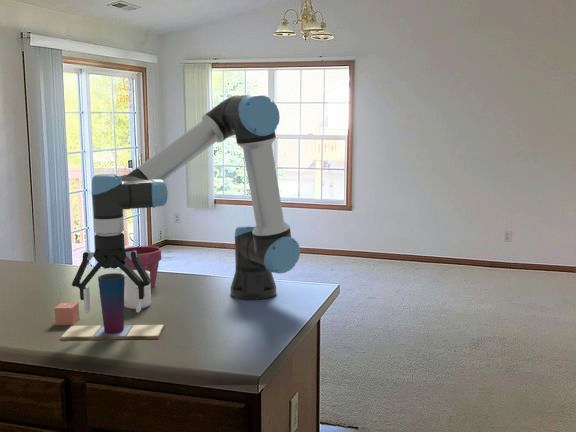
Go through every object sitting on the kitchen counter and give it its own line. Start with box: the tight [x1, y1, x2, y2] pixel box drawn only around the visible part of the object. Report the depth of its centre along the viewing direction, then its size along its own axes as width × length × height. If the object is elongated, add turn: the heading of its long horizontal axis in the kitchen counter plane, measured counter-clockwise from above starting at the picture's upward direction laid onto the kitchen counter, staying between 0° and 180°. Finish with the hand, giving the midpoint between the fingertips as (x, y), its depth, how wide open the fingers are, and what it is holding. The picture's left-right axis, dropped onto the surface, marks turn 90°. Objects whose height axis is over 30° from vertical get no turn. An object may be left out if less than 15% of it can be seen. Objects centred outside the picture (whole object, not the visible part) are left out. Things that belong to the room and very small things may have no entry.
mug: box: [122, 270, 152, 310], centre depth 188 cm, size 12×8×10 cm
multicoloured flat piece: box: [59, 324, 165, 341], centre depth 165 cm, size 26×9×1 cm, turn 92°
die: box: [54, 302, 80, 326], centre depth 174 cm, size 5×5×5 cm
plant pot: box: [124, 245, 162, 288], centre depth 212 cm, size 14×14×13 cm
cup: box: [97, 272, 125, 334], centre depth 164 cm, size 7×7×15 cm
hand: (113, 311), depth 165 cm, fingers open, 13 cm apart
